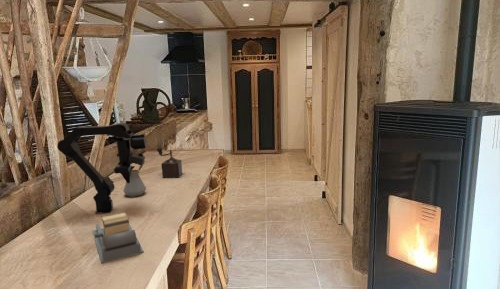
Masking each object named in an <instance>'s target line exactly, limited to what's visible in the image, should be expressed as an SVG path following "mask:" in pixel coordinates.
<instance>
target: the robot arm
mask: <svg viewBox="0 0 500 289" xmlns="http://www.w3.org/2000/svg"><path fill="white" fill-rule="evenodd" d="M103 135H105V136H106V135H107V136H112V137H113V138H112V139H111V140H110V141H111V142H112V143H113V142H115V143H116V149H117V150H116V151H117V153H116V157H118V162H117V165H116V166H115V168H113V173H114V174H120V175H121V176H122V178H123V179H124V181H125V183H126V182H127V183H130V180H131V172H132V170H134V169H135V166H134V165H132V164H135V165H138V166H140V165H143V166H144V164H143V163H145V162H144V161H145V159H146V156H144V153H142V152H139V153H138V154H134V152H133V150H142V149H143V150H144V149H148V140H147V137H146V134H145V133H141V134H135V133H134V132H133V130H131V129H130V126H129V124H127V123H126V122H118V123H114V124H110V125H109V124H108V125H95V126H94V125H93V126H92V125H91V126H81V125H80V126H76V127H74V128H73V130H72V131H71V132H70V133H69V134H68V135H67V136H66V137H64V139H61V140H59V141H57V142H58V143H57V146H56V147H57V149H58V151H59V152H61V153H62V154H63V155H64V156H65V157H67V158H69V159H72V161H73V162H74V163H75V164H76V165H77V166H78V167H79V168H80V169H81V171H82V172H83V173H84V174H85V175H86V176H87V177H88V179H89V180H90V181H91V182H92V183H93V186H94V189H95V191H96V192H97V193H96V194H94V195H93V197H92V198H93V201H94V202H95V208H96V211H95V214H103V213H104V214H105V213H111V211H112V210H113V208H114V203H113V199H112V198H111V195H112V193H113V192H114V190H115V184H114V183H115V182H114V181H113V180H112V179H111V178H110V176H109V175H108V176H106V177H105V176H103V175H102V174H101V173H100V172H99V171H98V170H97V169H96V167H94V165H93V164H92V163H91V162H90V161H89V160H88V159H87V157H86V156H85V155H84V154H83V153H82V152H81V148H80V146H79V144H78V142H79V141H80V140H81V138H82V136H103ZM131 149H133V150H131Z"/></svg>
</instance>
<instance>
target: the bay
mask: <svg viewBox="0 0 500 289" xmlns="http://www.w3.org/2000/svg"><path fill="white" fill-rule="evenodd" d="M95 227H96V229H94V230H93V231H92V232H93V236H94V241H95V244H96V245H95V246H96V248H97V251H98V256H99V260H100V263H101V264H104V263H108V262H109V263H110V262H113V261H117V260H120V259H124V258H129V257H132V256H136V255H140V254H143V253H144V249H143V247H142V245H141V242H140V241H139V240H138V237H137V234H136V231H135V229H133V228H132V226H131V224H130V223H129V231H127V232H122V233H118V234H113V235H109V236H104V231H103V230H104V228H101V226H100V223H97V224H95Z"/></svg>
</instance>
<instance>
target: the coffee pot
mask: <svg viewBox="0 0 500 289" xmlns="http://www.w3.org/2000/svg"><path fill="white" fill-rule="evenodd" d="M147 163H148V162H147V161H146V160H144V163H143V165H139V167H138V168H137V169H133V170H132V172H131V180H130V183H127V182H126V181H125V184H124V187H123V193H124V194H125V195H126V196H127V197H129V198H130V197H131V198H136V197H140V196H142V195H143V194H144V193H145V191H146V190H147V187H146V186H145V184H144V182H143V180H142V178H141V176H140V175H139V173H140V171H141V169H142V168H143V166H144V165H145V164H147Z"/></svg>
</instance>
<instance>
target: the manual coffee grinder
mask: <svg viewBox="0 0 500 289" xmlns="http://www.w3.org/2000/svg"><path fill="white" fill-rule="evenodd" d="M156 152H157V153H158V155H159V157H164V156H165V157H166V156H169V155H170V157H169V158H168V159H165V160H164V161H163V162H162V163H161V164H160V165H161V173H162V179H180V178H181V176H182V175H183V164H182V159H176V158H174V157H173V154H172V153H173V152H172V149H170V150H169V153H165V154H164V153H163V147H162V146H158V147H156Z"/></svg>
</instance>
